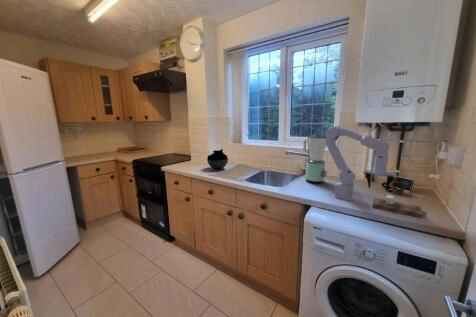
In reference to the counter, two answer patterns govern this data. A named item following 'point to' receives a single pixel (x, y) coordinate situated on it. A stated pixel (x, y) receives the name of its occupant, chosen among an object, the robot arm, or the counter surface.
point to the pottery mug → (391, 186)
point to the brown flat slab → (398, 208)
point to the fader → (389, 199)
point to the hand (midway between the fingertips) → (377, 188)
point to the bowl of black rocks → (217, 159)
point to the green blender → (315, 159)
